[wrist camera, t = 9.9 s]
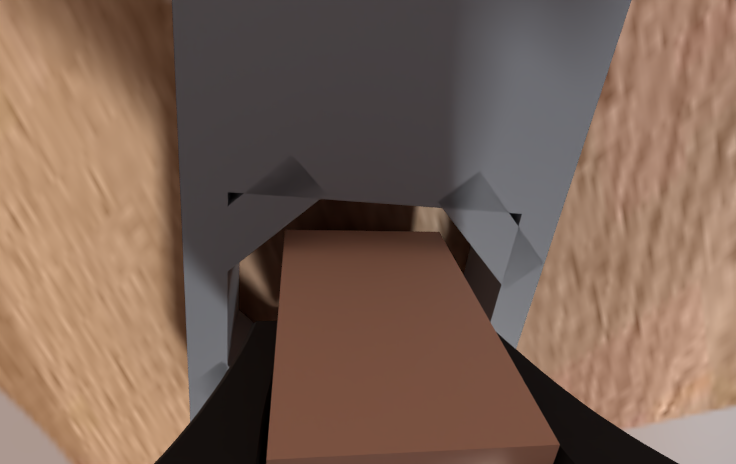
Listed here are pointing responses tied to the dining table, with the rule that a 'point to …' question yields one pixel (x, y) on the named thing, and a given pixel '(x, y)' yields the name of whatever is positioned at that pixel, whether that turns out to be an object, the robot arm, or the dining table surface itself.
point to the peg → (392, 359)
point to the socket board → (378, 134)
